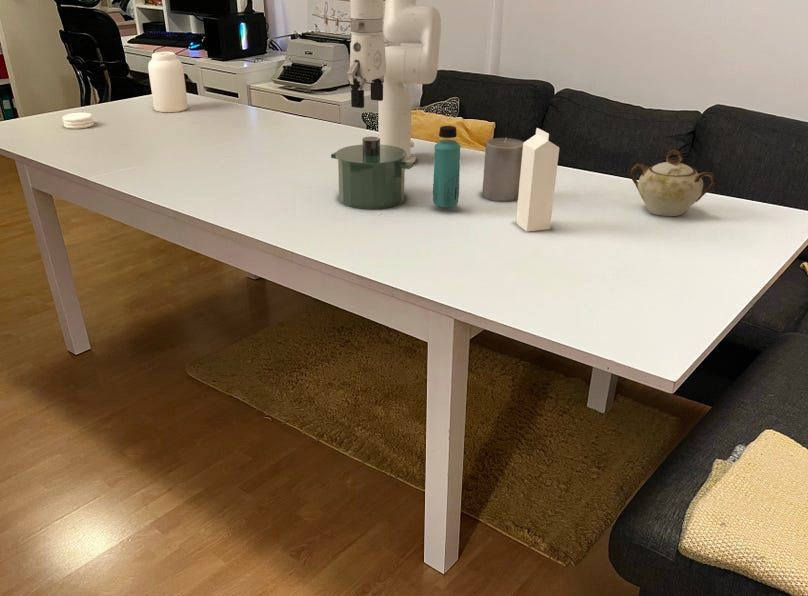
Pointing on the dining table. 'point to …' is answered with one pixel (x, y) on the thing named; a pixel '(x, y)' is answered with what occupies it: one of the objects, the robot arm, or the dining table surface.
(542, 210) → the milk
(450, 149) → the beverage bottle
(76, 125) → the white flat round stack
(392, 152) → the lid
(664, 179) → the sugar bowl
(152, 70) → the white jar
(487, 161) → the pillar candle
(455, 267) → the dining table surface
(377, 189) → the pot
